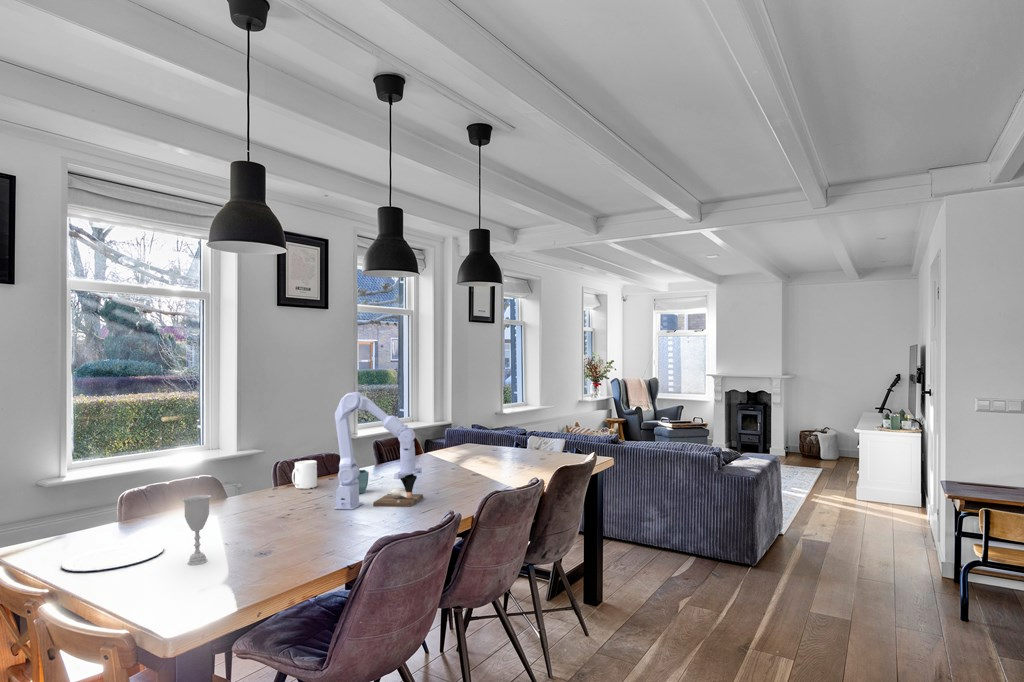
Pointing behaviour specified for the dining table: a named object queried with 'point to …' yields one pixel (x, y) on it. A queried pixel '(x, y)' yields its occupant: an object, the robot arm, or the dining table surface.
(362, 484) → the flower pot
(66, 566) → the plate
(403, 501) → the strip board
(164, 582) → the dining table surface
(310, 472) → the mug
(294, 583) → the dining table surface
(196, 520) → the chalice
